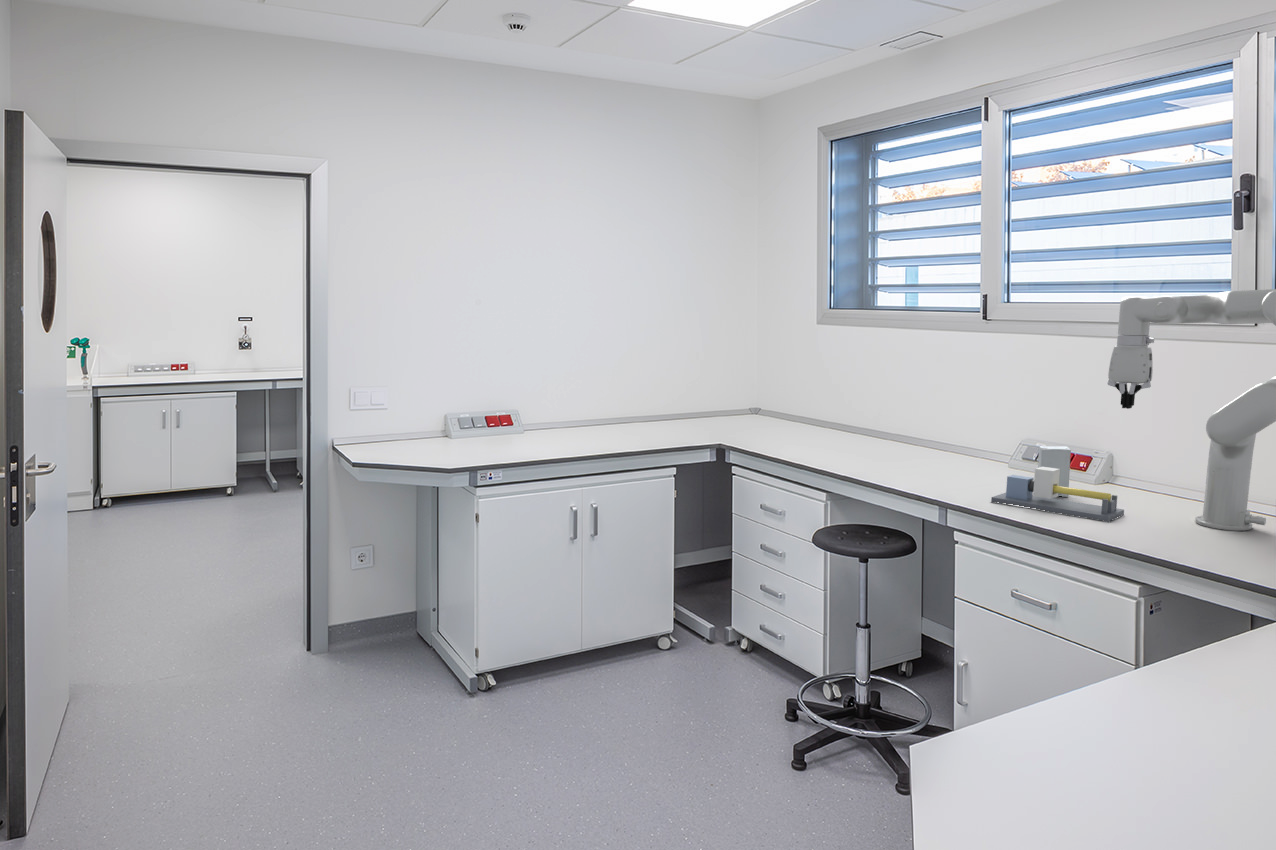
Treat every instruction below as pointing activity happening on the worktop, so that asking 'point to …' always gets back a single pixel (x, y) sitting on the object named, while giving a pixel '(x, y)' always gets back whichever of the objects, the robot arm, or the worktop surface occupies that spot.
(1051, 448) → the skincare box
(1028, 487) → the yellow rod jig
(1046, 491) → the sleeve
